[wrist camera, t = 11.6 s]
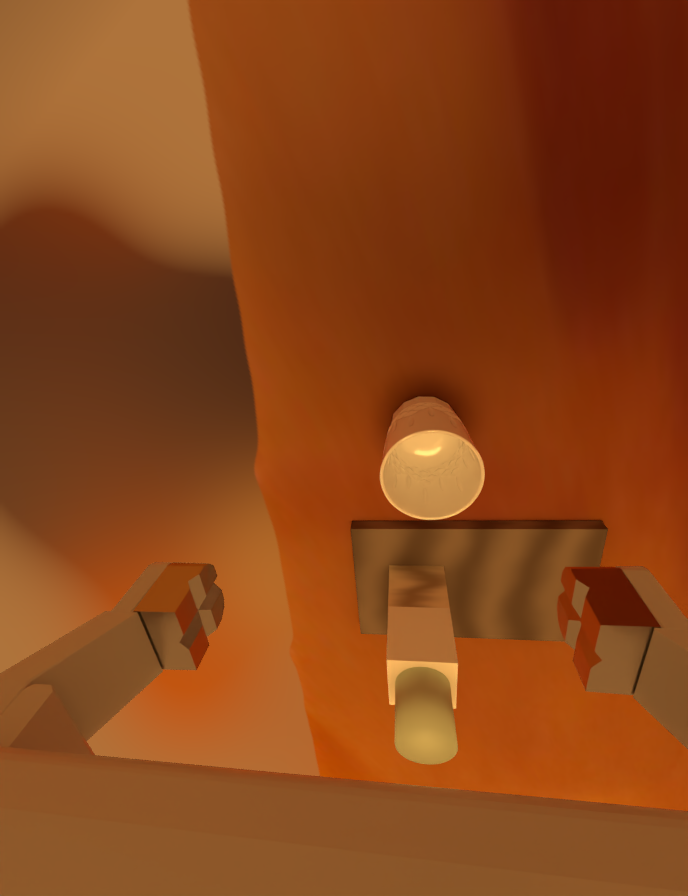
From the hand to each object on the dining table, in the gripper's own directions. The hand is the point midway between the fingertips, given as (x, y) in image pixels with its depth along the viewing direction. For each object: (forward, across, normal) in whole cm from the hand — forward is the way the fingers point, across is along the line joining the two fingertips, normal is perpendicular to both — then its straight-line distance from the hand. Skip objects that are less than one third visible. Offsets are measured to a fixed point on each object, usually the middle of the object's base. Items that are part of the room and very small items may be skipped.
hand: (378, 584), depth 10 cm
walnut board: (+30, -7, +28) cm, 42 cm away
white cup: (+31, -2, +9) cm, 32 cm away
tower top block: (+23, -1, +28) cm, 36 cm away
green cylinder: (+17, -1, +28) cm, 32 cm away
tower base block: (+29, -1, +28) cm, 40 cm away
